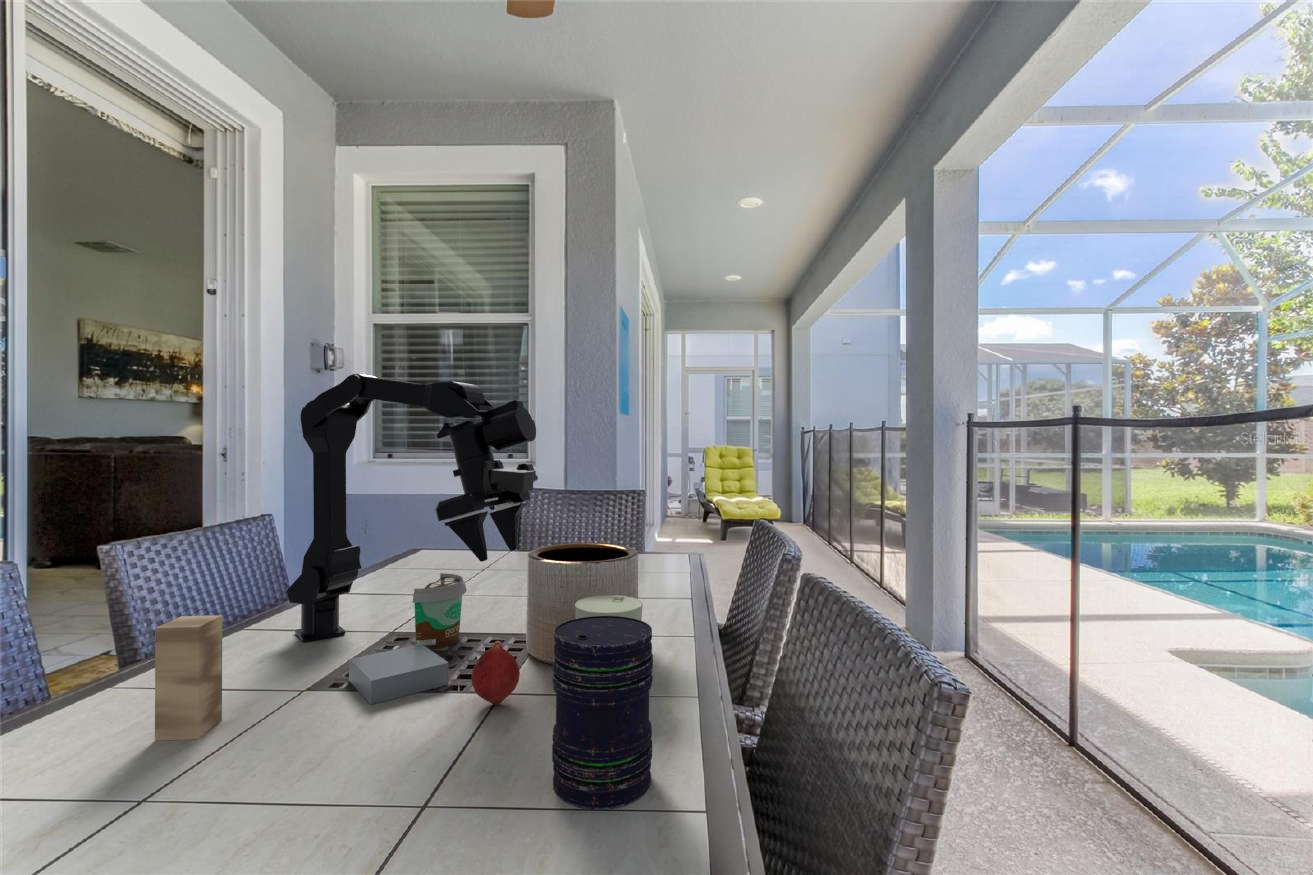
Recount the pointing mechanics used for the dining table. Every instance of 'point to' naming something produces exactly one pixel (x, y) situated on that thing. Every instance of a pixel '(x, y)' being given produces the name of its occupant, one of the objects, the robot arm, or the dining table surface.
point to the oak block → (188, 677)
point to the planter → (572, 586)
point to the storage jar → (602, 711)
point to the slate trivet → (397, 673)
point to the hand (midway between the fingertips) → (499, 555)
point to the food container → (439, 611)
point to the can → (609, 606)
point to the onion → (495, 674)
